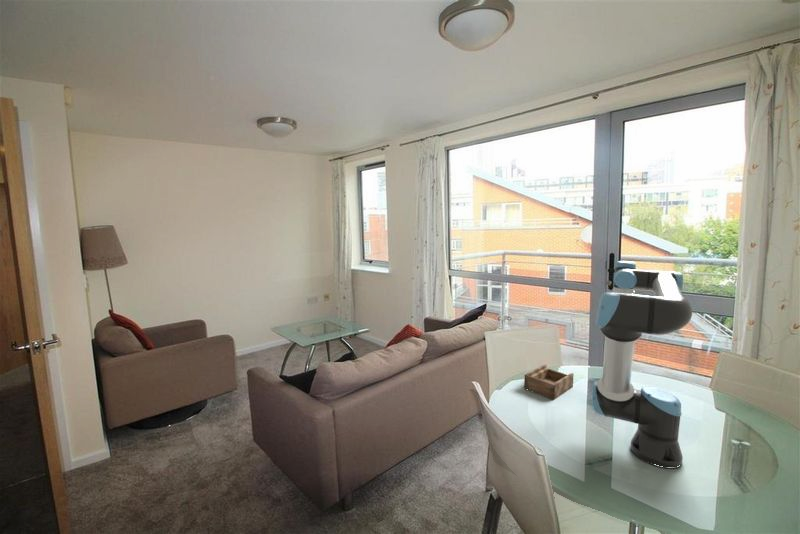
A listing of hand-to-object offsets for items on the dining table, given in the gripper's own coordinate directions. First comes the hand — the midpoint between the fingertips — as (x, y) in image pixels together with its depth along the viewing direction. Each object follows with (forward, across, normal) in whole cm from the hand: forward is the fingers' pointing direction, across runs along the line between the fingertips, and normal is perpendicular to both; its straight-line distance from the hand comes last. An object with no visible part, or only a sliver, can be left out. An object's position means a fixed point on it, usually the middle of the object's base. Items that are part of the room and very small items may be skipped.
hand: (618, 349), depth 158 cm
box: (+26, -5, +28) cm, 39 cm away
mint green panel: (+27, +14, +28) cm, 41 cm away
